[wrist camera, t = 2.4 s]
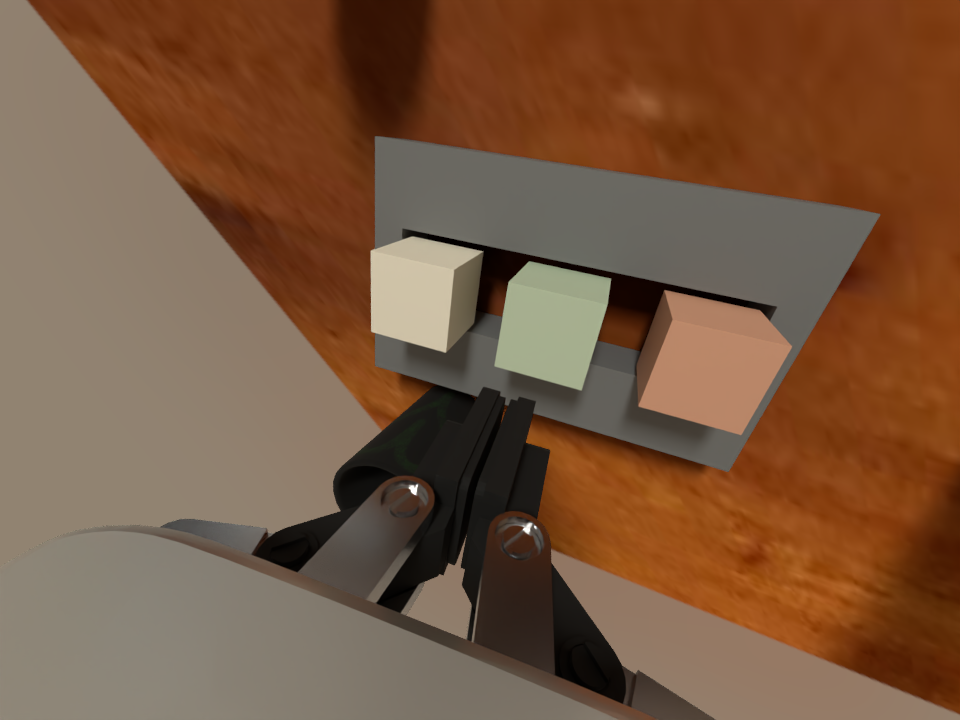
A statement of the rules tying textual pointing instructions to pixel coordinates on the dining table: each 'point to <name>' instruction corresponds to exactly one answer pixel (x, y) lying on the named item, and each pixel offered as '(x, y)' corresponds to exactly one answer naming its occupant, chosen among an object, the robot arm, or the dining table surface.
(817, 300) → the console
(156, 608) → the robot arm
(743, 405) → the terracotta button
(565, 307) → the green button
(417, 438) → the cup
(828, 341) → the dining table surface
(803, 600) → the dining table surface
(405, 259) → the cream button
